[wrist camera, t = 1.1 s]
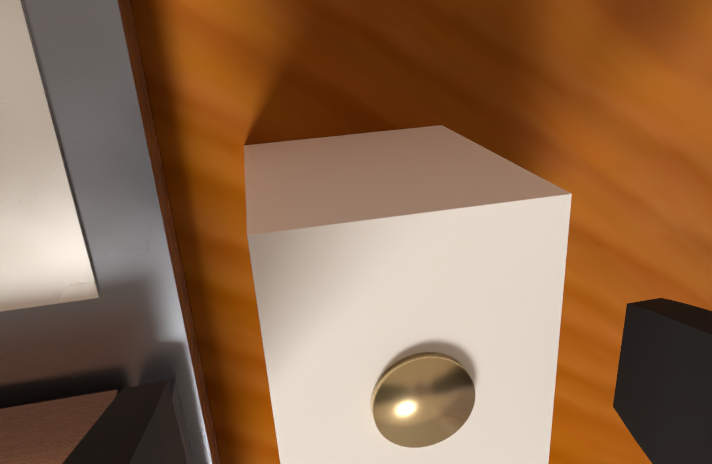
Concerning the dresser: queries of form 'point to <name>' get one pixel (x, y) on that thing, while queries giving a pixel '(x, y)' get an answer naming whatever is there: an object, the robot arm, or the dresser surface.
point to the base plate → (88, 220)
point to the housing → (406, 298)
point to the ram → (49, 428)
